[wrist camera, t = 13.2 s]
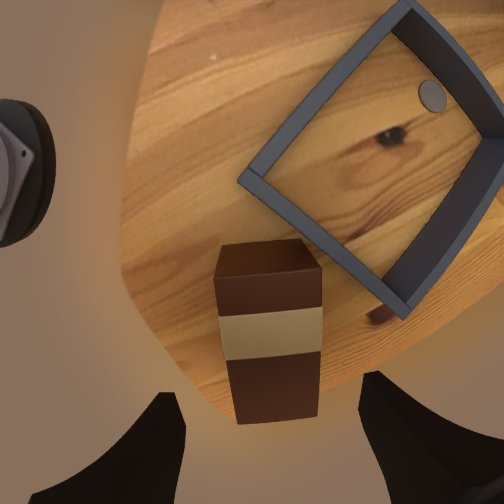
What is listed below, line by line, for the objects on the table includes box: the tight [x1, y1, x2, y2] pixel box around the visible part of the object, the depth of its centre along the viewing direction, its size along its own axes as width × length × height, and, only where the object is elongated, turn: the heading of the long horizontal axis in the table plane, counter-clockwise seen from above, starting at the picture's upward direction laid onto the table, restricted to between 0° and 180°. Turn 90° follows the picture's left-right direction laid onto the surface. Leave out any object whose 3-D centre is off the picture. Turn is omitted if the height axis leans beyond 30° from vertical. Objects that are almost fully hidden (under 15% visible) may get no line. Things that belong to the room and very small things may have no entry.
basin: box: [237, 0, 504, 321], centre depth 14 cm, size 12×15×4 cm
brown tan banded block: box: [213, 239, 323, 425], centre depth 16 cm, size 5×9×5 cm, turn 5°
